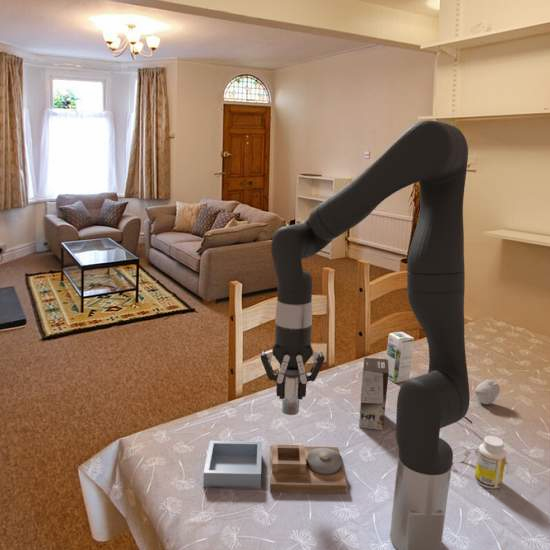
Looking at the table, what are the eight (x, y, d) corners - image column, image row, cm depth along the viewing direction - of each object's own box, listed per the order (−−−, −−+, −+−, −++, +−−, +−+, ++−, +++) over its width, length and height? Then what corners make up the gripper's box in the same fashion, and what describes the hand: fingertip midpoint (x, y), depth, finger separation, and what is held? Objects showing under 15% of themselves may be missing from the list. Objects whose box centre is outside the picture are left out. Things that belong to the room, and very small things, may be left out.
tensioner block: (346, 493, 109) (347, 474, 108) (270, 492, 109) (270, 473, 108) (337, 454, 123) (339, 437, 121) (270, 453, 122) (270, 435, 121)
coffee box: (383, 431, 133) (389, 373, 129) (358, 427, 135) (362, 370, 130) (383, 413, 142) (388, 358, 138) (359, 410, 143) (364, 356, 139)
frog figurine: (502, 406, 148) (506, 383, 146) (483, 410, 146) (486, 387, 144) (487, 396, 154) (490, 374, 152) (468, 400, 151) (471, 378, 149)
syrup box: (383, 376, 165) (387, 333, 161) (398, 373, 167) (402, 330, 164) (394, 383, 160) (399, 339, 156) (410, 380, 162) (414, 337, 159)
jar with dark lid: (301, 416, 109) (303, 371, 107) (279, 416, 109) (281, 371, 107) (300, 405, 114) (302, 362, 112) (279, 405, 114) (280, 362, 111)
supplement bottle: (493, 473, 117) (499, 433, 115) (506, 489, 112) (513, 447, 109) (469, 474, 117) (475, 433, 114) (481, 490, 111) (488, 448, 109)
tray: (260, 488, 110) (260, 474, 109) (203, 487, 110) (203, 472, 109) (261, 455, 121) (261, 441, 120) (209, 454, 121) (209, 440, 120)
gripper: (258, 326, 103) (257, 405, 107) (330, 327, 103) (325, 406, 107) (259, 314, 110) (258, 389, 114) (326, 315, 111) (322, 390, 115)
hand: (291, 397), depth 111 cm, fingers closed on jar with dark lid, 3 cm apart
